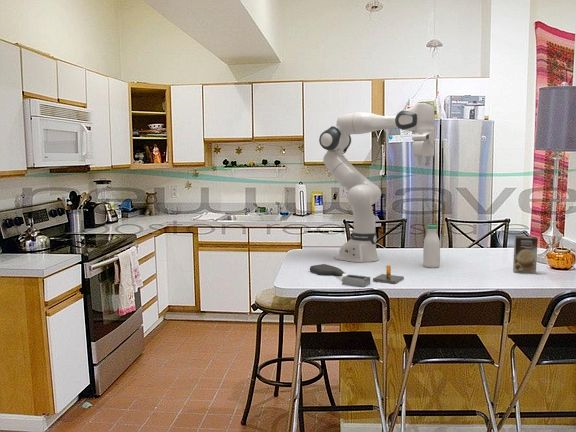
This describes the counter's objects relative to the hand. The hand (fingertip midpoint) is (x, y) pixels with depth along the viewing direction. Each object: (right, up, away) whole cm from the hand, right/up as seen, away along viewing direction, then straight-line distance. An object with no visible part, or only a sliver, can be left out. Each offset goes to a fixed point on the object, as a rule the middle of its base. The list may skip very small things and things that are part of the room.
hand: (424, 166), depth 245 cm
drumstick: (-45, -51, -12) cm, 69 cm away
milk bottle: (+4, -48, +3) cm, 48 cm away
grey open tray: (-36, -52, -30) cm, 70 cm away
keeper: (-22, -51, -24) cm, 61 cm away
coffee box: (+42, -49, -12) cm, 66 cm away
